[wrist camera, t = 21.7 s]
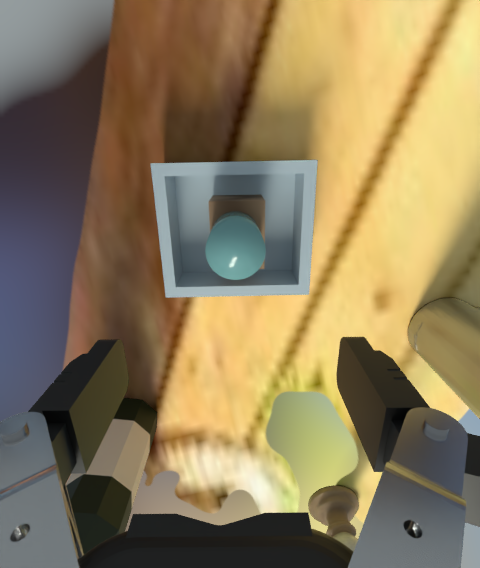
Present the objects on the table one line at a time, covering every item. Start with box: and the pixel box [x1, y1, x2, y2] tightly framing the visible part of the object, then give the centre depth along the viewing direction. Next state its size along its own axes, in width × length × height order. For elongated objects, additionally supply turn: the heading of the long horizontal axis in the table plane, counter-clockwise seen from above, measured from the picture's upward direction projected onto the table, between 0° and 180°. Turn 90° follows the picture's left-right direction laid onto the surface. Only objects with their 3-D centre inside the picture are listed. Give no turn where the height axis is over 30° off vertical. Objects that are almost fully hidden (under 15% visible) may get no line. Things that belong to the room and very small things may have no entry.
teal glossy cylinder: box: [205, 211, 266, 280], centre depth 29 cm, size 5×5×6 cm
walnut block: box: [208, 194, 265, 270], centre depth 35 cm, size 6×7×6 cm
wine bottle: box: [66, 398, 157, 554], centre depth 35 cm, size 8×8×30 cm
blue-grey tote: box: [151, 160, 318, 297], centre depth 35 cm, size 16×14×6 cm
